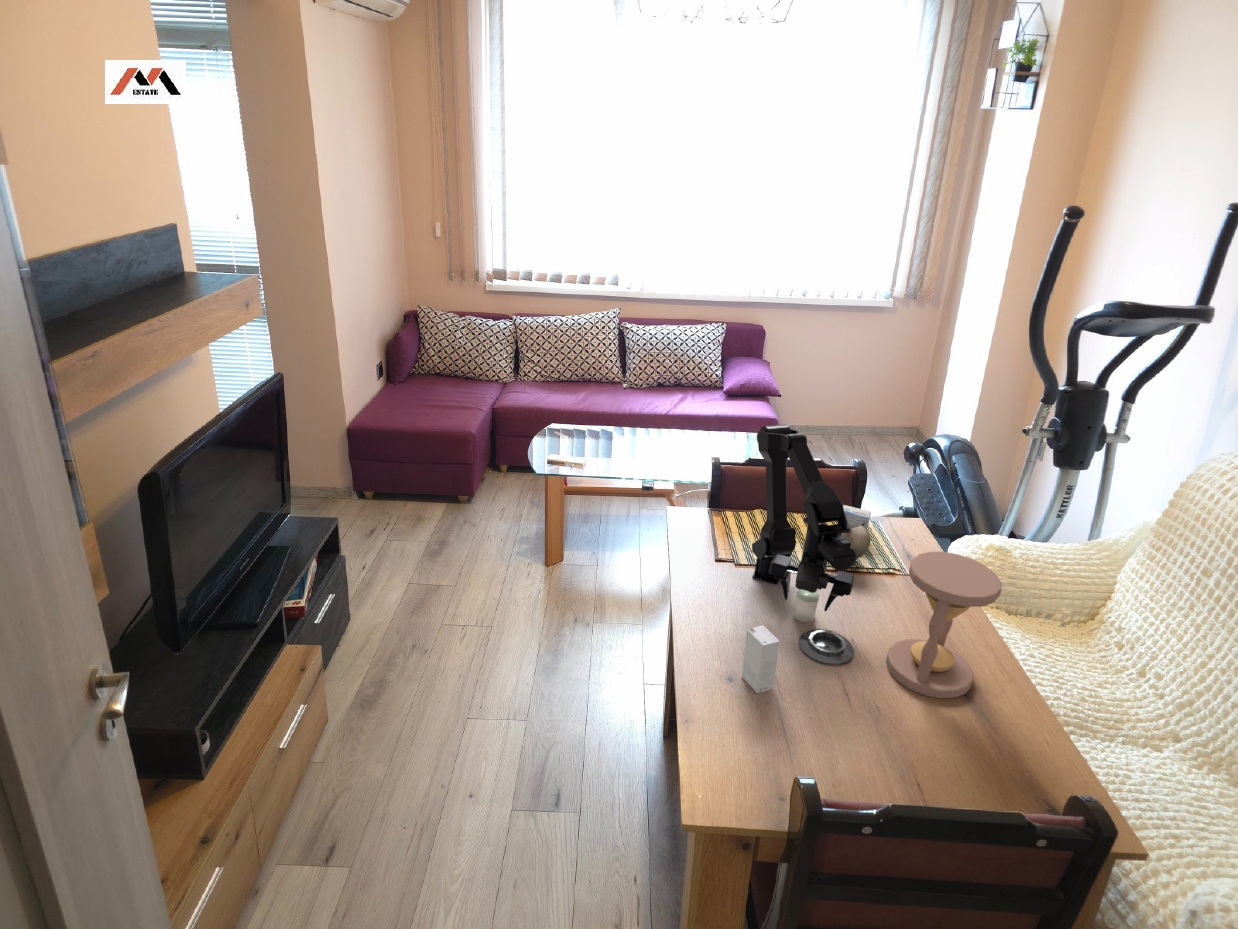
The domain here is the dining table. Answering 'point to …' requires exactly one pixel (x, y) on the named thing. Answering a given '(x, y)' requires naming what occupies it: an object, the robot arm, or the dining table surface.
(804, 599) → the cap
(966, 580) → the hourglass
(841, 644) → the collar
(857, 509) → the medicine box
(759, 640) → the skincare box
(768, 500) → the robot arm
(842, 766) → the dining table surface
